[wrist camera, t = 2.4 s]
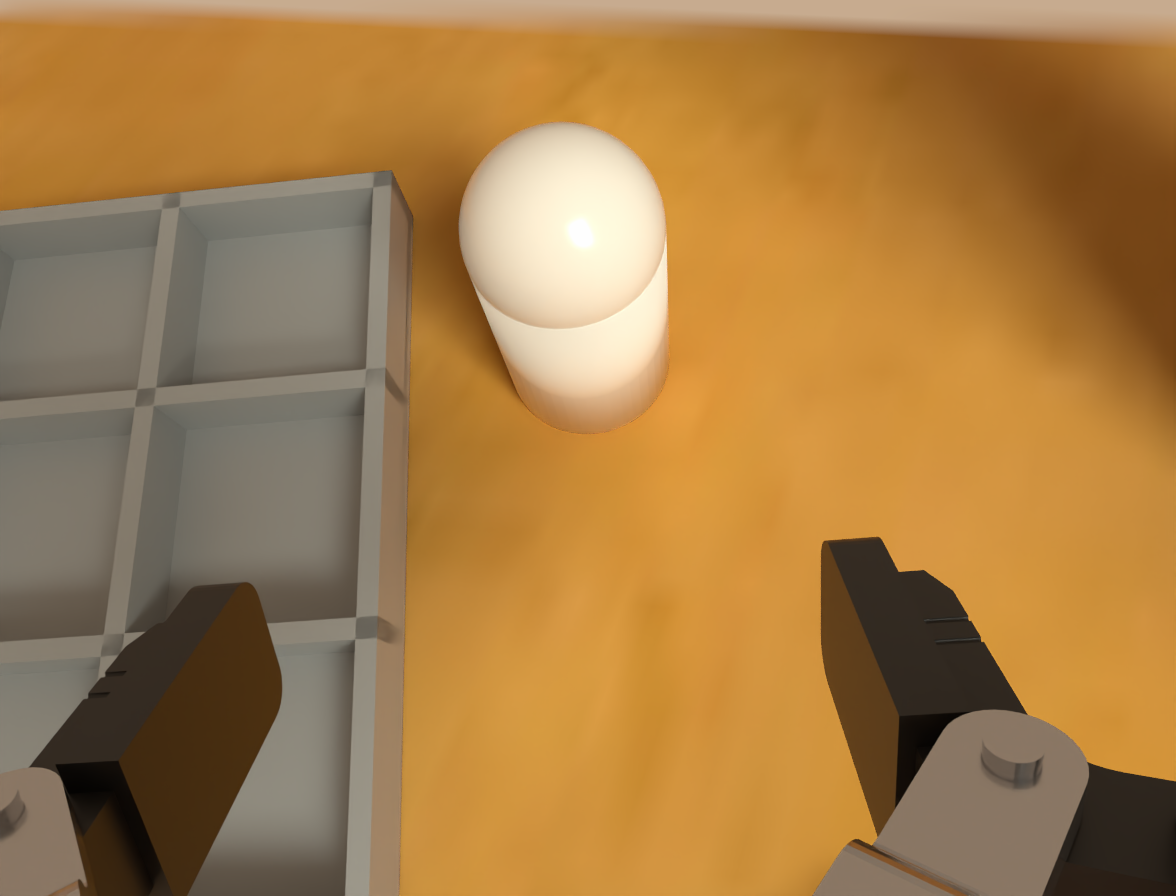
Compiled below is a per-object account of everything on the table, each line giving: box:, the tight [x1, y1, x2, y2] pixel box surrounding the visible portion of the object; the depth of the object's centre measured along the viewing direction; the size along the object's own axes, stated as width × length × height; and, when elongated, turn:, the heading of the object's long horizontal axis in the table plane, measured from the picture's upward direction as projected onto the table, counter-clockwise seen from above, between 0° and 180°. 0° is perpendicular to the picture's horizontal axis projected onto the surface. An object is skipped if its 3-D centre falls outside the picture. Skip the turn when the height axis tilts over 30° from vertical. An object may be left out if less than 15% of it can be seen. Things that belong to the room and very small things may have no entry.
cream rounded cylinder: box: [459, 122, 669, 434], centre depth 25 cm, size 5×5×10 cm
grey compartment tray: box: [0, 170, 413, 896], centre depth 28 cm, size 15×22×3 cm, turn 3°
